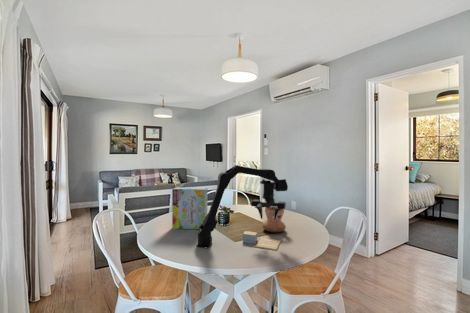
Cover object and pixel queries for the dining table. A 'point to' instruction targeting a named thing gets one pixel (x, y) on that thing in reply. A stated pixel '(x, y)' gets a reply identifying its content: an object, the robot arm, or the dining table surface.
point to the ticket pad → (267, 243)
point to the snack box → (188, 207)
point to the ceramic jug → (273, 224)
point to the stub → (250, 237)
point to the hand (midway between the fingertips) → (268, 219)
